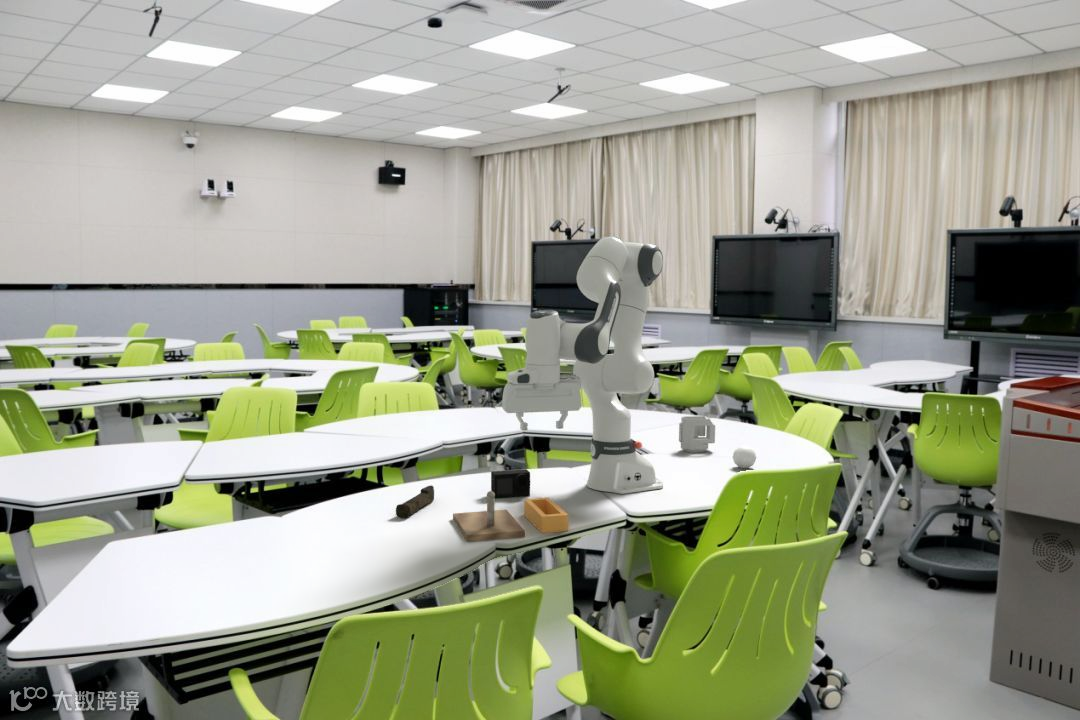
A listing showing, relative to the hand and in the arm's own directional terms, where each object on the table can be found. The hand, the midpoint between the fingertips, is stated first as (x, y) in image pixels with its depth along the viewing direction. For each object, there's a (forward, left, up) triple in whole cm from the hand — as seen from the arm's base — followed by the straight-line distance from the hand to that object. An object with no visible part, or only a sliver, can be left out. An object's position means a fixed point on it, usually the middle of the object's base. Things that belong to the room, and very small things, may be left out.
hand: (541, 429), depth 208 cm
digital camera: (+2, -22, -24) cm, 32 cm away
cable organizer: (-77, -62, -23) cm, 102 cm away
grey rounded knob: (-80, -36, -23) cm, 91 cm away
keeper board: (+15, +4, -23) cm, 28 cm away
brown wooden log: (+29, -17, -24) cm, 41 cm away
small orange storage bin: (0, +4, -23) cm, 23 cm away
